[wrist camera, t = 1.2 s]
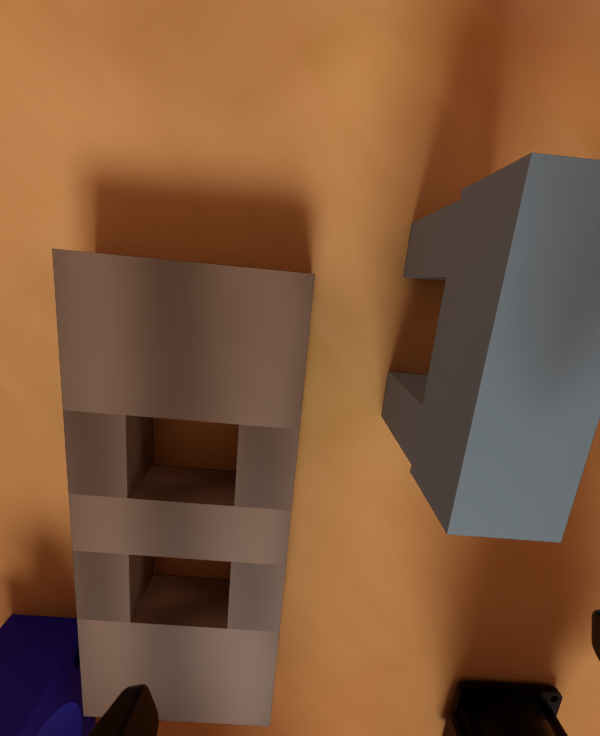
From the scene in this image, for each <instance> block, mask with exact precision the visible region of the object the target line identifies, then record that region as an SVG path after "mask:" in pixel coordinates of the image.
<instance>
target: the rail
mask: <svg viewBox="0 0 600 736" xmlns="http://www.w3.org/2000/svg"><path fill="white" fill-rule="evenodd" d="M52 254H53V269H54V284H55V299H56V314H57V329H58V344H59V358H60V373H61V388H62V403H63V418H64V433H65V448H66V463H67V477H68V492H69V507H70V522H71V537H72V552H73V567H74V581H75V596H76V611H77V626H78V641H79V656H80V671H81V685H82V700H83V715H84V716H89V717H102V716H103V715H104V714H105V712H106V711H107V710H108V709H109V707H110V706H111V705H112V703H113V702H114V701H115V700H116V698H117V697H118V696H119V695H120V693H121V692H122V691H123V690H124V689H125V688H127V687H129V686H134V685H140V684H145V685H147V686H148V687H149V690H150V692H151V695H152V697H153V700H154V702H155V705H156V707H157V710H158V715H159V720H162V721H180V722H198V723H216V724H234V725H252V726H270V718H271V708H272V698H273V688H274V678H275V668H276V658H277V648H278V638H279V628H280V618H281V608H282V598H283V588H284V578H285V568H286V558H287V548H288V539H289V529H290V519H291V509H292V499H293V489H294V479H295V469H296V459H297V449H298V439H299V429H300V419H301V409H302V399H303V389H304V379H305V369H306V359H307V349H308V339H309V329H310V319H311V309H312V299H313V289H314V279H315V274H309V273H298V272H288V271H278V270H268V269H257V268H247V267H237V266H226V265H216V264H206V263H195V262H185V261H175V260H165V259H154V258H144V257H134V256H123V255H113V254H103V253H92V252H82V251H72V250H61V249H52ZM153 417H154V418H166V419H178V420H190V421H202V422H215V423H227V424H239V432H238V450H237V467H236V471H224V470H211V469H199V468H186V467H173V466H160V465H153ZM153 556H156V557H171V558H185V559H199V560H213V561H228V562H231V572H230V580H226V579H211V578H197V577H182V576H168V575H153Z"/></svg>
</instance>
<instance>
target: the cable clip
mask: <svg viewBox="0 0 600 736" xmlns="http://www.w3.org/2000/svg"><path fill="white" fill-rule="evenodd" d="M94 726H95V717H89V716H84V715H83V700H82V685H81V671H80V656H79V641H78V626H77V618H63V617H47V616H30V615H14V614H12V615H11V616H10V617H9V618H8V620H7V621H6V622H5V623H4V624H3V626H2V627H1V628H0V736H87V735H88V734H89V733H90V731H91V730H92V729H93V728H94Z"/></svg>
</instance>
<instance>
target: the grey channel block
mask: <svg viewBox="0 0 600 736" xmlns="http://www.w3.org/2000/svg"><path fill="white" fill-rule="evenodd" d="M403 277H408V278H418V279H429V280H439V281H445V286H444V292H443V297H442V302H441V308H440V313H439V319H438V324H437V329H436V335H435V340H434V346H433V351H432V356H431V362H430V367H429V373H428V375H423V374H412V373H401V372H390V371H389V372H388V378H387V384H386V391H385V397H384V403H383V410H382V418H383V420H384V421H385V423H386V424H387V426H388V428H389V429H390V431H391V432H392V434H393V436H394V437H395V439H396V441H397V442H398V444H399V445H400V447H401V449H402V450H403V452H404V453H405V455H406V457H407V458H408V460H409V462H410V463H411V470H410V472H411V474H412V476H413V477H414V479H415V481H416V482H417V484H418V486H419V488H420V489H421V491H422V493H423V494H424V496H425V498H426V499H427V501H428V503H429V504H430V506H431V508H432V510H433V511H434V513H435V515H436V516H437V518H438V520H439V521H440V523H441V525H442V527H443V528H444V530H445V532H446V533H447V534H450V535H463V536H477V537H491V538H504V539H518V540H531V541H545V542H558V543H561V540H562V537H563V534H564V531H565V528H566V524H567V521H568V518H569V515H570V512H571V508H572V505H573V502H574V499H575V496H576V492H577V489H578V486H579V483H580V480H581V476H582V473H583V470H584V467H585V464H586V460H587V457H588V454H589V451H590V447H591V444H592V441H593V438H594V435H595V431H596V428H597V425H598V422H599V419H600V160H594V159H585V158H576V157H567V156H558V155H549V154H540V153H530V154H528V155H526V156H525V157H523V158H521V159H519V160H517V161H515V162H513V163H511V164H510V165H508V166H506V167H504V168H502V169H500V170H498V171H496V172H494V173H493V174H491V175H489V176H487V177H485V178H483V179H481V180H479V181H478V182H476V183H474V184H472V185H470V186H468V187H466V188H464V189H462V194H461V200H459V201H457V202H455V203H452V204H450V205H448V206H446V207H444V208H442V209H440V210H438V211H436V212H434V213H431V214H429V215H427V216H425V217H423V218H421V219H419V220H417V221H415V222H413V223H412V225H411V232H410V238H409V244H408V251H407V257H406V264H405V270H404V276H403Z"/></svg>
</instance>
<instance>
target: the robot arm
mask: <svg viewBox="0 0 600 736" xmlns="http://www.w3.org/2000/svg"><path fill="white" fill-rule="evenodd" d="M592 645H593V648H594V651H595V653H596V655H597V657H598V659H599V660H600V609H599V610H595V611H594V612H593V613H592ZM561 701H562V696H561V694H560V692H559V691H558V689H557V688H556V687H554V686H543V685H526V684H510V683H493V682H477V681H463V682H461V683H460V684H459V685H458V687H457V691H456V695H455V699H454V703H453V707H452V710H451V714H450V716H449V720H448V723H447V727H446V731H445V735H444V736H568V735H567V734H566V732H565V730H564V729H563V727H562V725H561V724H560V722H559V720H558V719H557V717H556V715H557V712H558V709H559V707H560V704H561ZM158 725H159V715H158V710H157V707H156V705H155V702H154V700H153V697H152V695H151V692H150V690H149V687H148V686H147V685H145V684H140V685H134V686H129V687H127V688H125V689H124V690H123V691H122V692H121V693H120V695H119V696H118V697H117V698H116V700H115V701H114V702H113V703H112V705H111V706H110V707H109V709H108V710H107V711H106V712H105V714H104V715H103V716H102V717H101V719H100V720H99V721H98V722H97V724H96V725H95V726H94V728H93V729H92V730H91V731H90V733H89V734H88V735H87V736H157V731H158Z"/></svg>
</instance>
